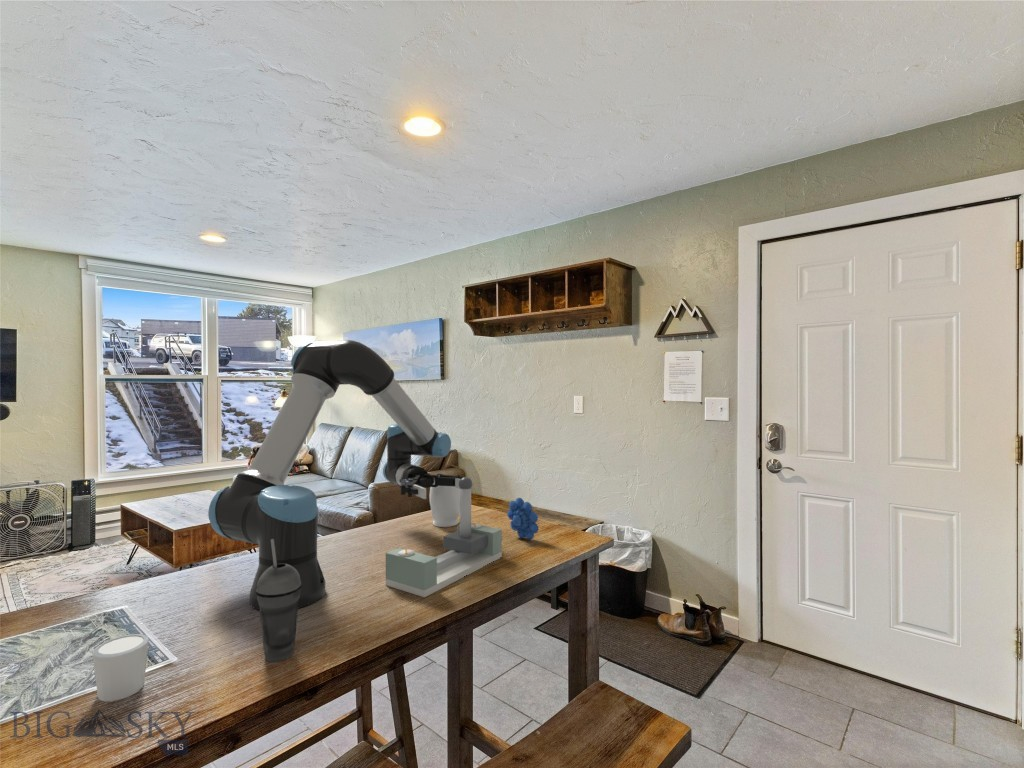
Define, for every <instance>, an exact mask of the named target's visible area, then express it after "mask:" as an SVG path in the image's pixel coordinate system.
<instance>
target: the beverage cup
mask: <svg viewBox="0 0 1024 768" xmlns="http://www.w3.org/2000/svg"><path fill="white" fill-rule="evenodd" d="M271 547H272V555H273V564H274V565H273V566H271V567H269V568H268V569H266V570H265V571H264V572H263V574H262V575H261V577H260V578H259V581H258V584H257V589H256V595H257V600H258V605H259V607H260V610H259V618H260V624H261V625H260V626H261V627H260V628H261V635H262V647H263V654H264V659H265V661H267V662H269V663H279V662H282V661H285V660H288V659H290V658H291V656H293V655H294V649H295V644H296V643H295V642H296V635H297V634H296V631H297V622H298V611H299V608H298V600H299V597H300V592H301V587H302V584H301V580H300V575H299V573H298V572H297V570H296V569H295V568H294V567H292V566H291V565H288V564H284V563H280V564H277V562H276V553H275V545H274V539H271Z"/></svg>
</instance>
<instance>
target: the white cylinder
mask: <svg viewBox="0 0 1024 768" xmlns="http://www.w3.org/2000/svg"><path fill="white" fill-rule="evenodd" d="M149 640H150V638H149V637H148V635H146V634H142V633H141V634H140V633H137V634H135V633H133V634H126V635H121V636H118V637H115V638H111V639H108V640H106V641H104V642H102V643H100V644H99V645H97V646H96V647H95V648H94V649H93V651H92V661H93V669H94V677H95V684H96V692H97V698H98V700H99V701H102V702H116V701H120V700H123V699H126V698H129V697H131V696H133V695H134V694H137V693H139V691H140V690H142V689H143V687H144V685H145V680H146V679H145V678H146V669H147V663H148V662H147V661H148V654H149V653H148V651H149V643H150V641H149Z"/></svg>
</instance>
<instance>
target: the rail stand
mask: <svg viewBox="0 0 1024 768" xmlns="http://www.w3.org/2000/svg"><path fill="white" fill-rule="evenodd" d="M458 530H460V524H457V525H456V531H458ZM471 532H474V533H479V534H484V535H487V547H486V548H483V549H481V550H479V551H477V552H475V553H473V554H467V553H463V552H459V551H454V550H448V551H447V552H446V551H445V552H444V553H441V554H439V555H437V556H431V555H428V554H424V553H419V552H415V551H414V550H413V549H404V548H400V547H398V548H395V549H392V550H390V551H387V552H385V586H387V587H390V588H393V589H397V590H399V591H402V592H406V593H409V594H412V595H416V596H419V597H422V598H426V597H428V596H430V595H431V594H434V593H435V592H437V591H440V590H441V589H443V588H445V587H447V586H450V585H451V584H453V583H455V582H456V581H459V580H461V579H463V578H464V576H465V577H466V575H467V576H468V575H470V574H472V573H474V572H476V571H478V570H480V569H482V568H484V567H486V566H488V565H490V564H492V563H493V561H494V562H496V561H497V560H499V559H501V558H502V554H503V553H502V552H503V551H502V548H503V547H502V546H503V545H502V543H503V542H502V541H503V539H502V537H503V535H502V534H503V531H502V529H501V528H496V527H491V526H486V525H482V524H481V523H477V522H473V523H472V522H471ZM500 557H501V558H500ZM491 562H492V563H491ZM489 563H490V564H489ZM487 564H488V565H487ZM485 565H486V566H485ZM483 566H484V567H483Z"/></svg>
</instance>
